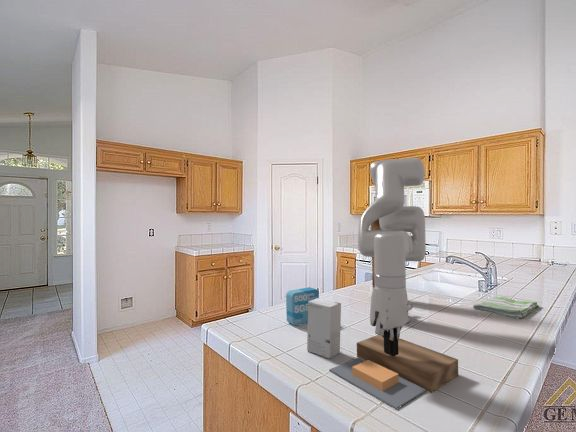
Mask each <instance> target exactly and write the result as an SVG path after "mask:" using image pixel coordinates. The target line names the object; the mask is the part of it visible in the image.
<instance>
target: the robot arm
mask: <svg viewBox="0 0 576 432" xmlns="http://www.w3.org/2000/svg"><path fill="white" fill-rule="evenodd" d="M425 171H426V170H425V166H424V163H423V161H422V160H421V159H420V158H419V157H405V158H390V159H379V160H375V161H374V162H372V163H370V166H369V174H370V177H371V181H372V183H373V185H374V188H375V189H374V190H375V196H374V201H373V202H371V203H372V204H371V203H370V205H369V206H367V208H366V209H365V210H364V212H363V213H362V214H361V217H360V218H359V223H358V231H357V232H358V235H357V249H358V251H359V253H360V254H361V255H362V256H364V257H370V258H372V257H374V276H375V287H373V286H372V292H371V297H370V309H369V311H370V313H369V316H370V317H369V323H370V326H372V327H375V328H374V329H375V330H374V332H375V335H382V337H383V338H384V352H385V353H387V354H389V355H391V356H396V355H398V354H399V353H398V339H397V338H400V337H401V336H400V335H401V330H402V329H403V328H404V327H405V326H406V324H409V323H410V322H411V316H410V314H409V311H411V310H412V309H413V307H412V305H410V304H409V300H408V299H409V298H408V293H407V281H406V280H407V278H406V276H407V275H406V273H407V272H406V271H407V270H406V266H407V265H406V262H421V261H424V259H425V257H426V245H427V244H426V217H425V212H424V210H423V209H422V207H419V206H416V205H412V206H409V205H408V206H404V205H405V187H416V186H417V187H418V186H421V185H423V183H424V181H425V177H426V176H425V175H426V173H425ZM377 219H379V224H380V228H381V229H382V230H371V229H370V227H371V224H372V223H373V222H374V221H376V220H377ZM409 233H410V234H411V235H410V234H409Z"/></svg>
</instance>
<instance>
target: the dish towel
mask: <svg viewBox="0 0 576 432" xmlns="http://www.w3.org/2000/svg"><path fill="white" fill-rule="evenodd" d="M472 308H473V310H474V311H480V312H484V313H490V314H493V315H499V316H504V317H507V318H512V319H517V320H521V319H522V318H524V317H526V316H528V315H529V314H531V313H533V312H534V311H535V310H537V309H538V308H539V304H538V302H536V301H525V300H517V299H516V300H515V299H512V298H508V297H503V296H494V297H492V298H490V299H487V300H486V301H483V302H481V303H474V304H473V305H472Z"/></svg>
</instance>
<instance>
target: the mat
mask: <svg viewBox="0 0 576 432" xmlns="http://www.w3.org/2000/svg"><path fill="white" fill-rule="evenodd" d="M364 361H365V360H363V359H361V358H359V357H355V358H354V359H351V360H349V361H347V362H344V363H341V364H339V365H337V366H334V367H331V368H329V369H328V370H329V372H330V373H332V374H333V375H336V376H337V377H339V378H340V379H342V380H344V381H346V382H348V383H349V384H351V385H353V386H354V387H356V388H358V389H360V390H362V391H363V392H365V393H366V394H369V395H370V396H372V397H373V396H374V398H375V397H376V398H375V399H377V400H379V401H380V400H381V402H382V403H383V404H385V403H386V405H387V406H389V405H390V406H389V407H391V408H392V407H393V408H392V409H394V408H395V409H394V410H396V409H397V408H398V409H400V408H401V407H400V406H402V405H403V406H405V405H406V404H408V403H409V402H408V401H410V400H411V401H413V400H414V398H415V397H416V398H418V397H419V396H421V395H422V393H423V394H424V393H426V392H427V390H426V389H424V388H422V387H420V386H418V385H416V384H414V383H411V382H409V381H407V380H405V379H403V378H401V377H399V382H398V383H396V384H395V385H393V386H391V387H389V388H387V389H386V390H384V391H381V390H379V389H377V388H376V387H374V386H372V385H370V384H368V383H366V382H365V381H363V380H361V379H359V378H357V377H355V376H353V375H352V367H353V366H355V365H358V364H360V363H362V362H364ZM420 394H421V395H420ZM417 396H418V397H417ZM416 398H415V399H416ZM412 399H413V400H412ZM411 401H410V402H411ZM407 402H408V403H407ZM405 403H406V404H405ZM404 404H405V405H404ZM403 406H402V407H403ZM399 407H400V408H399ZM398 409H397V410H398Z"/></svg>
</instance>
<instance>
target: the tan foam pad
mask: <svg viewBox="0 0 576 432" xmlns="http://www.w3.org/2000/svg"><path fill="white" fill-rule="evenodd" d="M352 375H353V376H355V377H357V378H359V379H361V380H363V381H365V382H366V383H368V384H370V385H372V386H374V387H376V388H377V389H379V390H381V391H384V390H386V389H387V388H389V387H391V386H393V385H395V384H396V383H398V382H399V376H398V373H395V372H393V371H391V370H389V369H387V368H385V367H383V366H380V365H378V364H376V363H374V362H372V361H370V360H367V361H364V362H362V363H360V364H358V365H355V366H353V367H352Z"/></svg>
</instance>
